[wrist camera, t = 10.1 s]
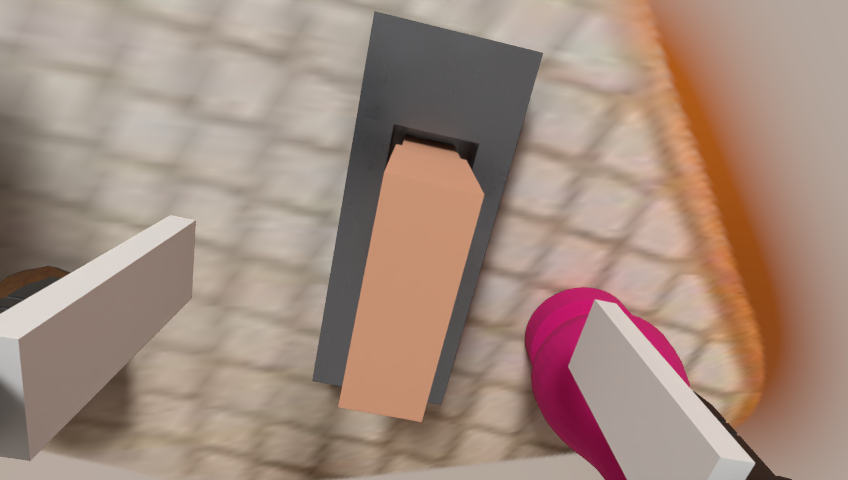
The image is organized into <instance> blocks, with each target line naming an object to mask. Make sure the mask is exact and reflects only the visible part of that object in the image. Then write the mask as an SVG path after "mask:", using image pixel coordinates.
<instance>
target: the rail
mask: <svg viewBox="0 0 848 480" xmlns="http://www.w3.org/2000/svg"><path fill="white" fill-rule="evenodd" d="M542 55H543V53H541V52H537V51H533V50H529V49H525V48H521V47H517V46H513V45H509V44H505V43H501V42H497V41H492V40H488V39H484V38H480V37H476V36H472V35H468V34H464V33H460V32H456V31H452V30H448V29H444V28H440V27H436V26H432V25H428V24H424V23H420V22H416V21H412V20H408V19H404V18H399V17H395V16H391V15H387V14H383V13H379V12H374V18H373V24H372V29H371V35H370V41H369V47H368V53H367V59H366V65H365V71H364V77H363V83H362V89H361V95H360V101H359V107H358V113H357V119H356V125H355V131H354V137H353V143H352V148H351V154H350V160H349V166H348V172H347V178H346V184H345V190H344V196H343V202H342V208H341V214H340V220H339V226H338V232H337V238H336V244H335V250H334V256H333V261H332V267H331V273H330V279H329V285H328V291H327V297H326V303H325V309H324V315H323V321H322V327H321V333H320V339H319V345H318V351H317V357H316V363H315V369H314V374H313V380H312V381H315V382H320V383H326V384H331V385H337V386H342V385H343V380H344V374H345V369H346V364H347V359H348V354H349V349H350V344H351V339H352V334H353V328H354V323H355V318H356V313H357V308H358V303H359V298H360V293H361V288H362V282H363V277H364V272H365V267H366V262H367V257H368V252H369V247H370V242H371V236H372V231H373V226H374V221H375V216H376V211H377V206H378V201H379V196H380V190H381V185H382V180H383V175H384V171H385V169H386V167H387V164H388V162H389V160H390V157H391V155H392V153H393V150H394V148H395V146H396V144H398V145H402V144H403V141H404V138H405V135H406V134H407V135H411V136H415V137H420V138H424V139H428V140H433V141H437V142H442V143H446V144H450V145H455V148H456V150H457V152H458V154H459V156H460V158H461V159H464V160H467V162H468V164H469V166H470V168H471V170H472V172H473V174H474V175H475V177H476V179H477V181H478V183H479V185H480V187H481V189H482V191H483V193H484V198H483V202H482V205H481V209H480V212H479V216H478V220H477V223H476V227H475V231H474V234H473V238H472V241H471V245H470V249H469V252H468V256H467V260H466V263H465V267H464V270H463V274H462V278H461V281H460V285H459V289H458V292H457V296H456V299H455V303H454V307H453V310H452V314H451V318H450V321H449V325H448V328H447V332H446V336H445V339H444V343H443V347H442V350H441V354H440V357H439V361H438V365H437V368H436V372H435V376H434V379H433V383H432V386H431V390H430V394H429V397H428V401H427V402H429V403H435V404H440V405H441V404H442V400H443V397H444V393H445V390H446V386H447V383H448V380H449V376H450V373H451V369H452V366H453V362H454V359H455V355H456V352H457V348H458V345H459V342H460V338H461V335H462V331H463V328H464V324H465V321H466V317H467V314H468V311H469V307H470V304H471V300H472V297H473V293H474V290H475V286H476V283H477V279H478V276H479V273H480V269H481V266H482V262H483V259H484V255H485V252H486V248H487V245H488V241H489V238H490V235H491V231H492V228H493V224H494V221H495V217H496V214H497V210H498V207H499V203H500V200H501V197H502V193H503V190H504V186H505V183H506V179H507V176H508V172H509V169H510V165H511V162H512V159H513V155H514V152H515V148H516V145H517V141H518V138H519V134H520V131H521V127H522V124H523V121H524V117H525V114H526V110H527V107H528V103H529V100H530V96H531V93H532V89H533V86H534V83H535V79H536V76H537V72H538V69H539V65H540V62H541V58H542Z"/></svg>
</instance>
